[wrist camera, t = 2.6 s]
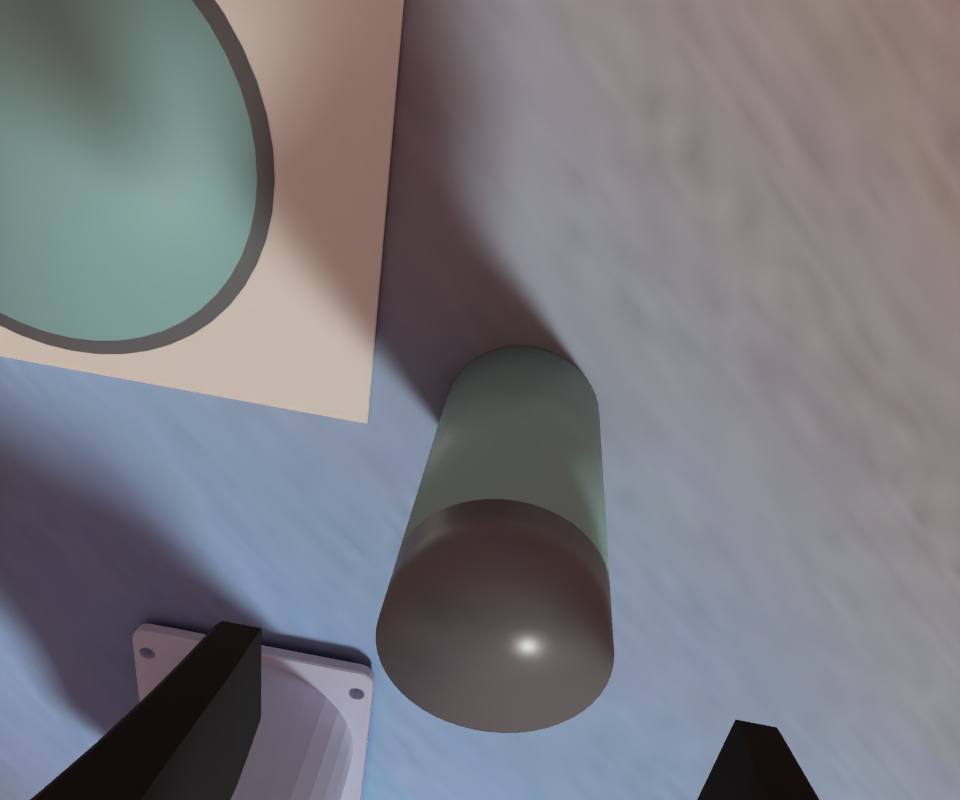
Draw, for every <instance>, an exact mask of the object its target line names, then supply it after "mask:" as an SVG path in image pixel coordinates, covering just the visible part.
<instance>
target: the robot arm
mask: <svg viewBox="0 0 960 800" xmlns="http://www.w3.org/2000/svg"><path fill="white" fill-rule="evenodd" d="M132 642H133V651H134V660H135V669H136V678H137V686H138V695H139V703H138V704H137V705H136V706H135V707H134V708H133V709H132V710H131V711H130V712H129V713H128V714H127V715H126V716H125V717H124V718H123V719H121V720H120V721H119V722H118V723H117V724H116V725H115V726H114V727H113V728H112V729H111V730H110V731H109V732H108V733H107V734H106V735H104V736H103V737H102V738H101V739H100V740H99V741H98V742H97V743H96V744H95V745H93V746H92V747H91V748H90V749H89V750H88V751H87V752H85V753H84V754H83V755H82V756H81V757H80V758H78V759H77V760H76V761H75V762H74V763H73V764H71V765H70V766H69V767H68V768H67V769H66V770H65V771H63V772H62V773H61V774H60V775H59V776H58V777H56V778H55V779H54V780H53V781H52V782H51V783H50V784H48V785H47V786H46V787H45V788H44V789H43V790H41V791H40V792H39V793H38V794H37V795H35V796H34V797H33V798H32V799H30V800H361V798H362V789H363V780H364V771H365V762H366V754H367V745H368V736H369V727H370V718H371V709H372V701H373V692H374V683H375V674H374V672H373V671H372V669H370V668H369V667H367V666H365V665H362V664H358V663H353V662H347V661H342V660H337V659H332V658H327V657H321V656H316V655H311V654H306V653H301V652H295V651H290V650H285V649H280V648H274V647H269V646H264V645H261V643H262V628H256V627H251V626H246V625H241V624H236V623H230V622H225V621H221V622H220V623H218V624H216V625H215V626H214V627H213V628H212V629H211V630H210V631H209V632H208V633H207V634H202V633H196V632H191V631H186V630H181V629H175V628H170V627H165V626H160V625H155V624H142V625H140V626H139V627H138V628H137V629H136V631H135V632H134V634H133V636H132ZM356 688H357V689H356ZM359 689H360V690H359ZM697 800H819V798H818V797H817V795H816V793H815V792H814V790H813V788H812V786H811V785H810V783H809V781H808V780H807V778H806V776H805V774H804V773H803V771H802V769H801V768H800V766H799V764H798V762H797V761H796V759H795V757H794V756H793V754H792V752H791V750H790V749H789V747H788V745H787V744H786V742H785V740H784V738H783V737H782V735H781V733H780V732H779V730H778V729H777V728H776V727H771V726H766V725H761V724H755V723H750V722H745V721H740V720H735V722H734V724H733V726H732V728H731V730H730V733H729V735H728V737H727V739H726V741H725V743H724V745H723V747H722V749H721V751H720V753H719V756H718V758H717V760H716V762H715V764H714V766H713V768H712V770H711V772H710V774H709V776H708V779H707V781H706V783H705V785H704V787H703V789H702V791H701V793H700V795H699V797H698V799H697Z"/></svg>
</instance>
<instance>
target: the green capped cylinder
mask: <svg viewBox="0 0 960 800" xmlns="http://www.w3.org/2000/svg"><path fill="white" fill-rule="evenodd" d="M376 646H377V652H378V655H379V658H380V661H381V664H382V666H383V668H384V670H385V672H386V674H387V675H388V677H389V678H390V680H391V681H392V682H393V684H394V685H395V686H396V687H397V688H398V689H399V690H400V691H401V693H402V694H404V695H405V696H406V697H407V698H408V699H409V700H410V701H412V702H413V703H414V704H416V705H417V706H419V707H420V708H422V709H423V710H425V711H427V712H428V713H430V714H432V715H434V716H436V717H438V718H440V719H443V720H445V721H447V722H450V723H453V724H456V725H459V726H462V727H466V728H470V729H474V730H480V731H487V732H498V733H519V732H527V731H535V730H539V729H544V728H548V727H551V726H554V725H557V724H560V723H562V722H564V721H566V720H569V719H571V718H573V717H574V716H576V715H578V714H579V713H581V712H582V711H584V710H585V709H586V708H587V707H589V706H590V705H591V704H592V703H593V702H594V701H595V700H596V699H597V698H598V697H599V696H600V694H601V693H602V691H603V690H604V688H605V687H606V685H607V683H608V680H609V678H610V676H611V672H612V668H613V663H614V645H613V629H612V613H611V597H610V580H609V564H608V548H607V532H606V516H605V500H604V484H603V468H602V452H601V435H600V419H599V408H598V402H597V399H596V395H595V393H594V391H593V388H592V386H591V385H590V383H589V382H588V380H587V378H586V377H585V376H584V375H583V374H582V373H581V371H580V370H578V369H577V368H576V367H575V366H574V365H573V364H571V363H570V362H569V361H567V360H566V359H564V358H562V357H560V356H558V355H556V354H554V353H552V352H549V351H546V350H542V349H538V348H533V347H507V348H501V349H497V350H493V351H491V352H488V353H486V354H484V355H482V356H480V357H478V358H476V359H475V360H473V361H472V362H471V363H469V364H468V365H467V366H466V367H465V368H464V369H463V370H462V371H461V372H460V373H459V374H458V376H457V377H456V378H455V380H454V382H453V384H452V385H451V388H450V390H449V393H448V396H447V399H446V402H445V405H444V409H443V412H442V415H441V418H440V422H439V425H438V428H437V431H436V435H435V438H434V441H433V444H432V447H431V451H430V454H429V457H428V460H427V464H426V467H425V470H424V473H423V477H422V480H421V483H420V486H419V489H418V493H417V496H416V499H415V502H414V506H413V509H412V512H411V515H410V519H409V522H408V525H407V528H406V531H405V535H404V538H403V541H402V544H401V548H400V551H399V554H398V557H397V561H396V564H395V567H394V570H393V573H392V577H391V580H390V583H389V586H388V590H387V593H386V596H385V599H384V603H383V606H382V609H381V612H380V615H379V619H378V623H377V628H376Z"/></svg>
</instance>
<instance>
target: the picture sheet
mask: <svg viewBox="0 0 960 800" xmlns="http://www.w3.org/2000/svg"><path fill="white" fill-rule="evenodd" d="M403 9H404V0H0V356H2V357H7V358H12V359H18V360H23V361H29V362H34V363H40V364H45V365H51V366H56V367H61V368H67V369H72V370H78V371H83V372H89V373H94V374H99V375H105V376H110V377H116V378H121V379H127V380H132V381H138V382H143V383H148V384H154V385H159V386H165V387H170V388H176V389H181V390H186V391H192V392H197V393H203V394H208V395H214V396H219V397H225V398H230V399H235V400H241V401H246V402H252V403H257V404H263V405H268V406H273V407H279V408H284V409H290V410H295V411H301V412H306V413H311V414H317V415H322V416H328V417H333V418H339V419H344V420H350V421H355V422H360V423H366V424H367V423H368V417H369V405H370V394H371V382H372V370H373V359H374V347H375V335H376V324H377V312H378V300H379V289H380V277H381V265H382V254H383V242H384V231H385V219H386V207H387V196H388V184H389V172H390V161H391V149H392V137H393V126H394V114H395V102H396V91H397V79H398V67H399V56H400V44H401V32H402V21H403Z"/></svg>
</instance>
